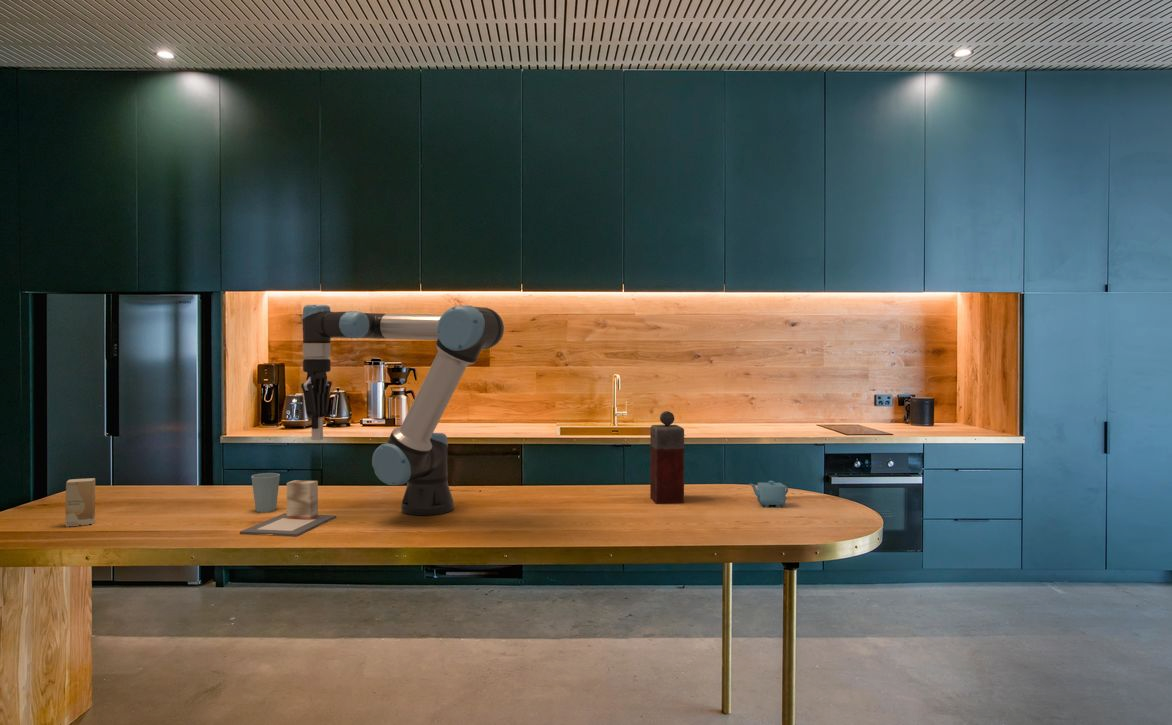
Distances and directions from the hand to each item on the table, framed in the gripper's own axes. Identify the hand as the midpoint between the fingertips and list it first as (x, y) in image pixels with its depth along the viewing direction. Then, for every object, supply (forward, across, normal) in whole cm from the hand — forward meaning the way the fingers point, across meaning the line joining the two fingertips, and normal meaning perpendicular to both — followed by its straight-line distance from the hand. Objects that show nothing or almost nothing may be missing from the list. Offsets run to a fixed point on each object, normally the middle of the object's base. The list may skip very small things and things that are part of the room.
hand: (317, 439), depth 207 cm
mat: (+21, +14, 0) cm, 26 cm away
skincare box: (+22, +22, -57) cm, 65 cm away
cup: (+22, 0, -17) cm, 27 cm away
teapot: (+21, -30, +130) cm, 135 cm away
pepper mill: (+21, -34, +99) cm, 107 cm away
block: (+21, +8, 0) cm, 22 cm away
